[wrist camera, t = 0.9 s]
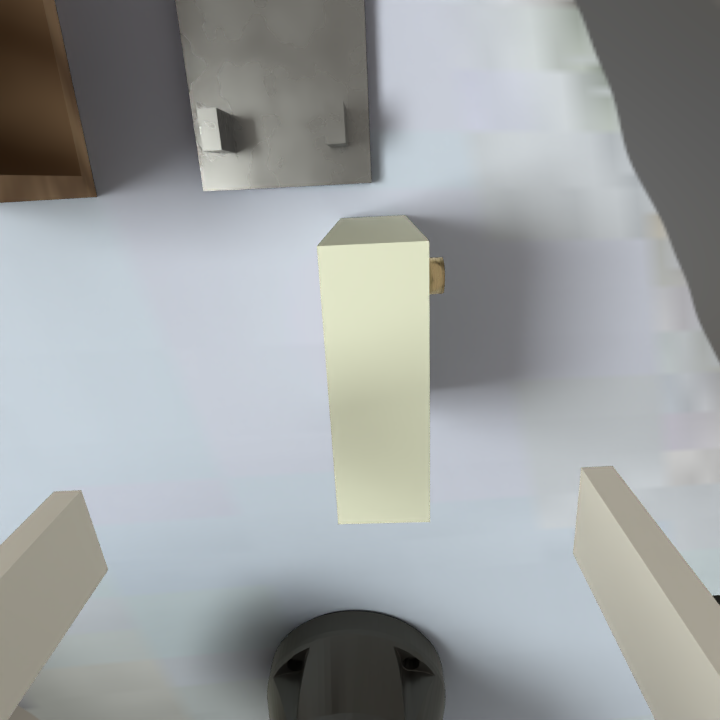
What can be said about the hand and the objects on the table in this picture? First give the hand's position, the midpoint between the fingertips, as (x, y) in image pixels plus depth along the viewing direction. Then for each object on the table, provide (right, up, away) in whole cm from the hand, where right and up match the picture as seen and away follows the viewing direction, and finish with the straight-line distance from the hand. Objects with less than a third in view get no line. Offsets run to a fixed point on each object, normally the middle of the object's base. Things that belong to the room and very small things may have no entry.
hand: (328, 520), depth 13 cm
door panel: (+2, +7, +20) cm, 21 cm away
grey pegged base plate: (-4, +22, +14) cm, 27 cm away
